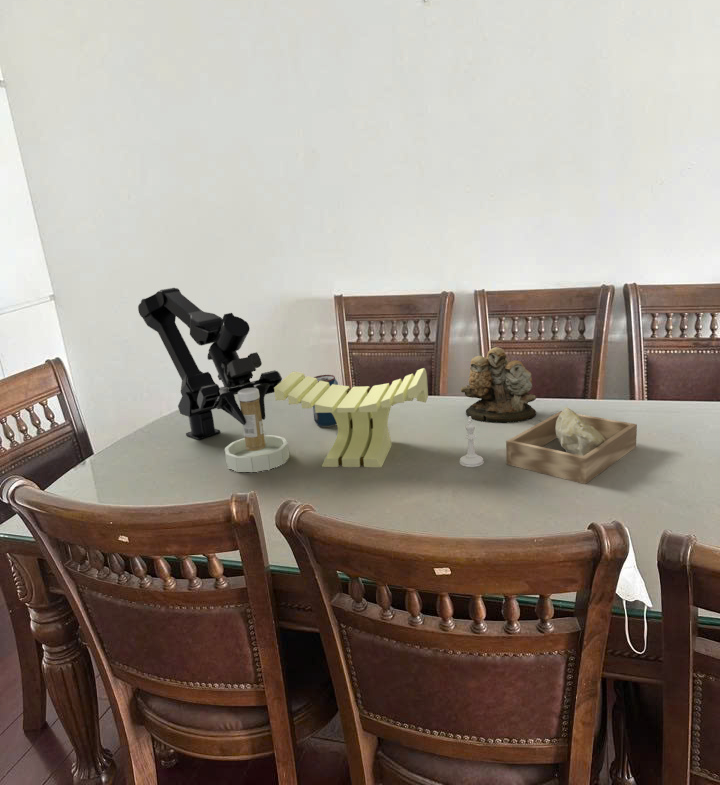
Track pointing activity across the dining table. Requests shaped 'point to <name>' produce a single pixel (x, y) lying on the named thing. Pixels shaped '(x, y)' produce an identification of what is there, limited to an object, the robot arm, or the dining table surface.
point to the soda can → (324, 418)
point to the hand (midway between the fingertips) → (254, 421)
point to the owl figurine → (499, 389)
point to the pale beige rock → (576, 433)
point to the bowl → (257, 455)
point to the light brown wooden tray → (565, 465)
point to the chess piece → (471, 448)
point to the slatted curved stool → (354, 413)
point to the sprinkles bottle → (252, 419)
